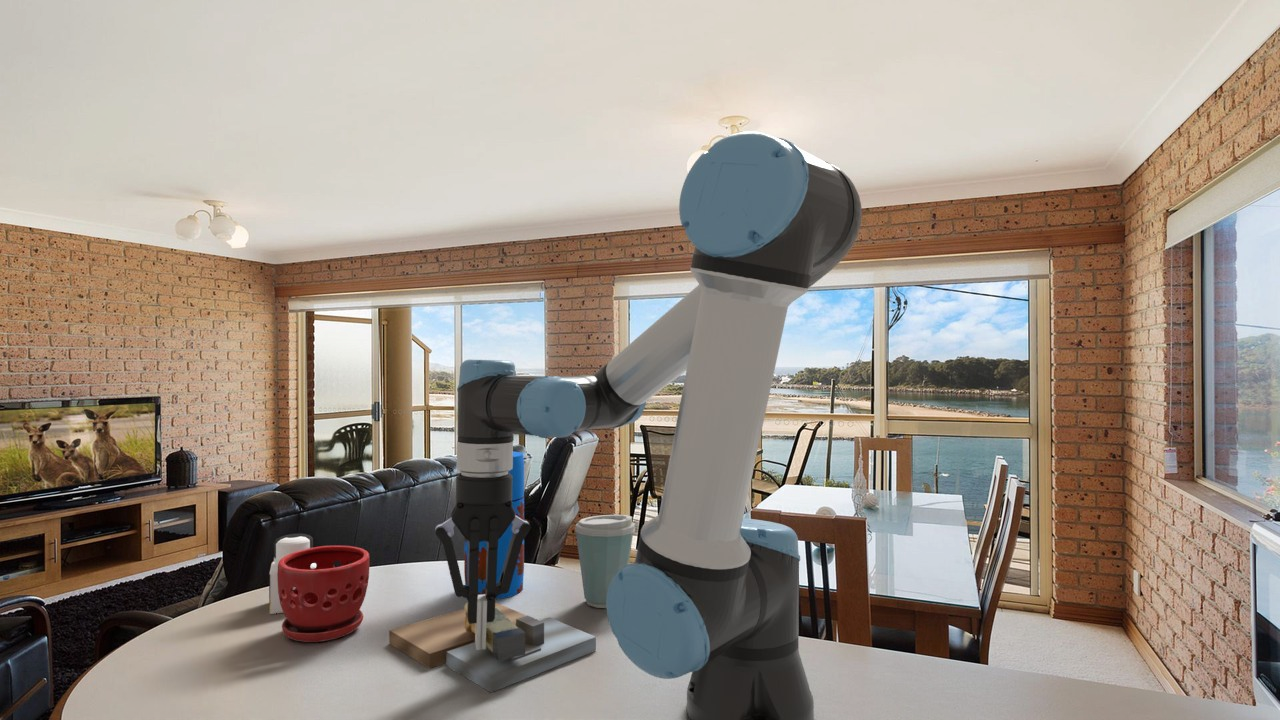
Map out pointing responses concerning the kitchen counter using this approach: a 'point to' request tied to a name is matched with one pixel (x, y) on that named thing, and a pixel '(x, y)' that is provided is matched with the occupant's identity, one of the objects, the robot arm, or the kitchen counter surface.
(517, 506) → the thermos
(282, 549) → the medicine bottle
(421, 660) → the door and jamb
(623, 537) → the disposable coffee cup
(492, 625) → the swing bar
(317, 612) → the plant pot
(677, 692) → the kitchen counter surface
